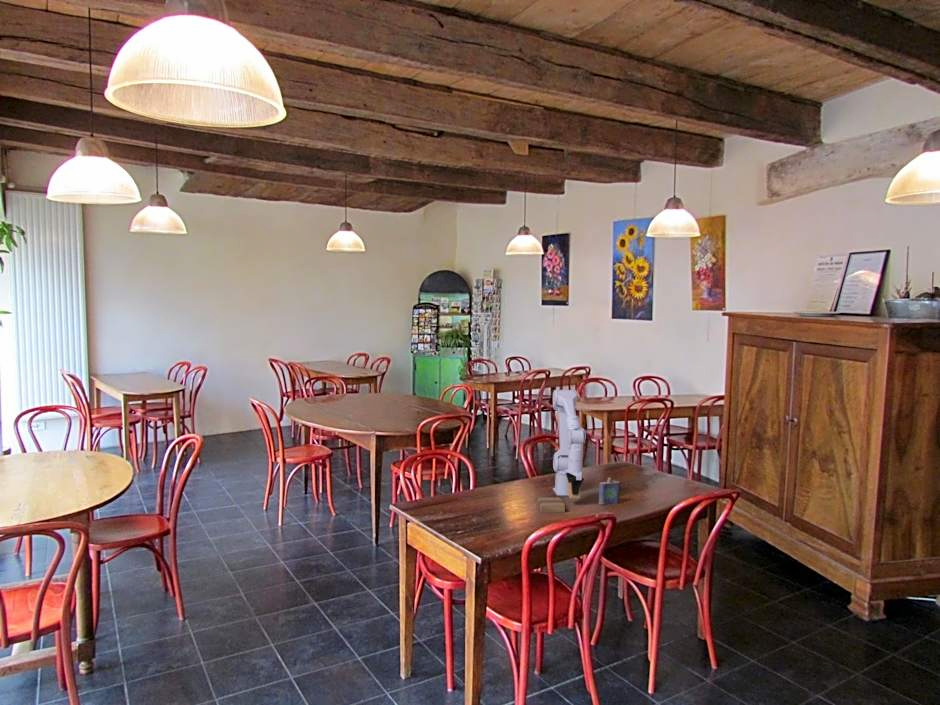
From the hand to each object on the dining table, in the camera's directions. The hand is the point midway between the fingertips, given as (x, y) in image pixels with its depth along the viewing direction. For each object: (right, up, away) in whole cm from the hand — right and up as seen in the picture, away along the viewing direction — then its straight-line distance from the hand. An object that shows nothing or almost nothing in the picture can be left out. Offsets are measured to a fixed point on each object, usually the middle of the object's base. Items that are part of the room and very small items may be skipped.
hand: (573, 492), depth 258 cm
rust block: (0, -2, 0) cm, 2 cm away
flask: (+15, -6, +4) cm, 16 cm away
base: (-10, -5, -4) cm, 12 cm away
